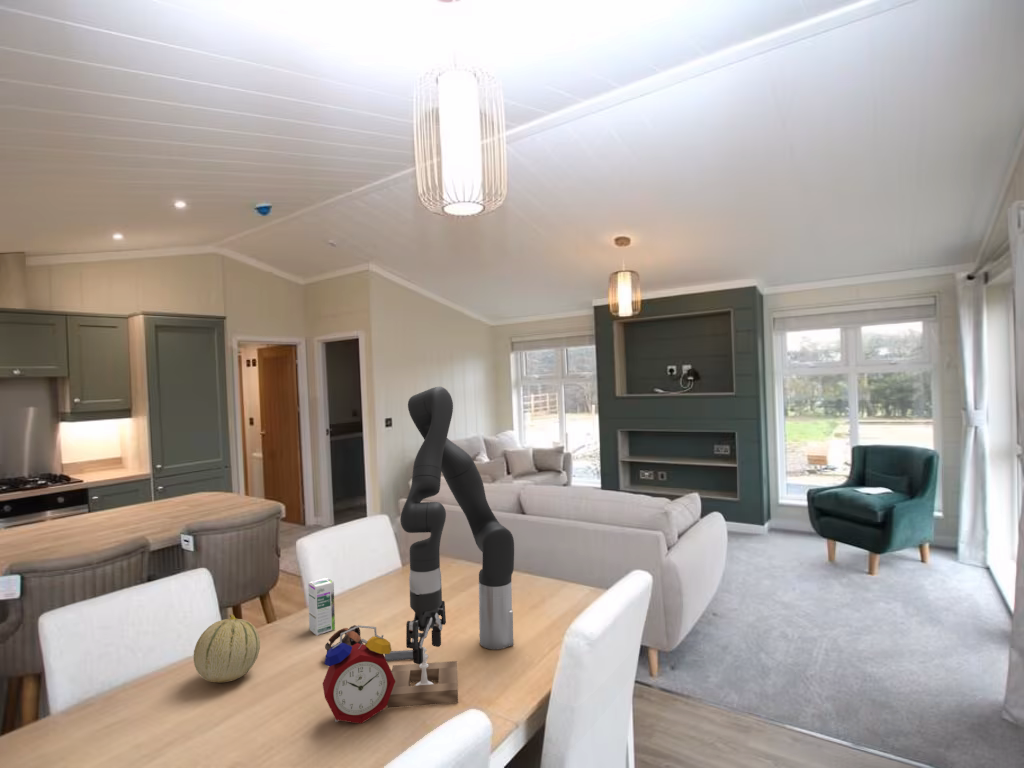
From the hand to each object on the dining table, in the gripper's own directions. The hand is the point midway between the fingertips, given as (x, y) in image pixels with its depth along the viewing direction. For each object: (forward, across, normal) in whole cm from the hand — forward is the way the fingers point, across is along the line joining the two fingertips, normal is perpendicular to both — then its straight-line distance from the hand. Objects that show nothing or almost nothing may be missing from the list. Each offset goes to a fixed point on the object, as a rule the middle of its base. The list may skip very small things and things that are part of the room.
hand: (427, 654), depth 130 cm
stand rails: (+8, -6, -12) cm, 16 cm away
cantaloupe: (+8, +13, -50) cm, 52 cm away
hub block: (+9, 0, -1) cm, 9 cm away
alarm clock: (+9, +13, -10) cm, 19 cm away
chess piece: (+9, 0, -1) cm, 9 cm away
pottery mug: (+9, -8, -29) cm, 32 cm away
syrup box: (+8, -17, -47) cm, 51 cm away
